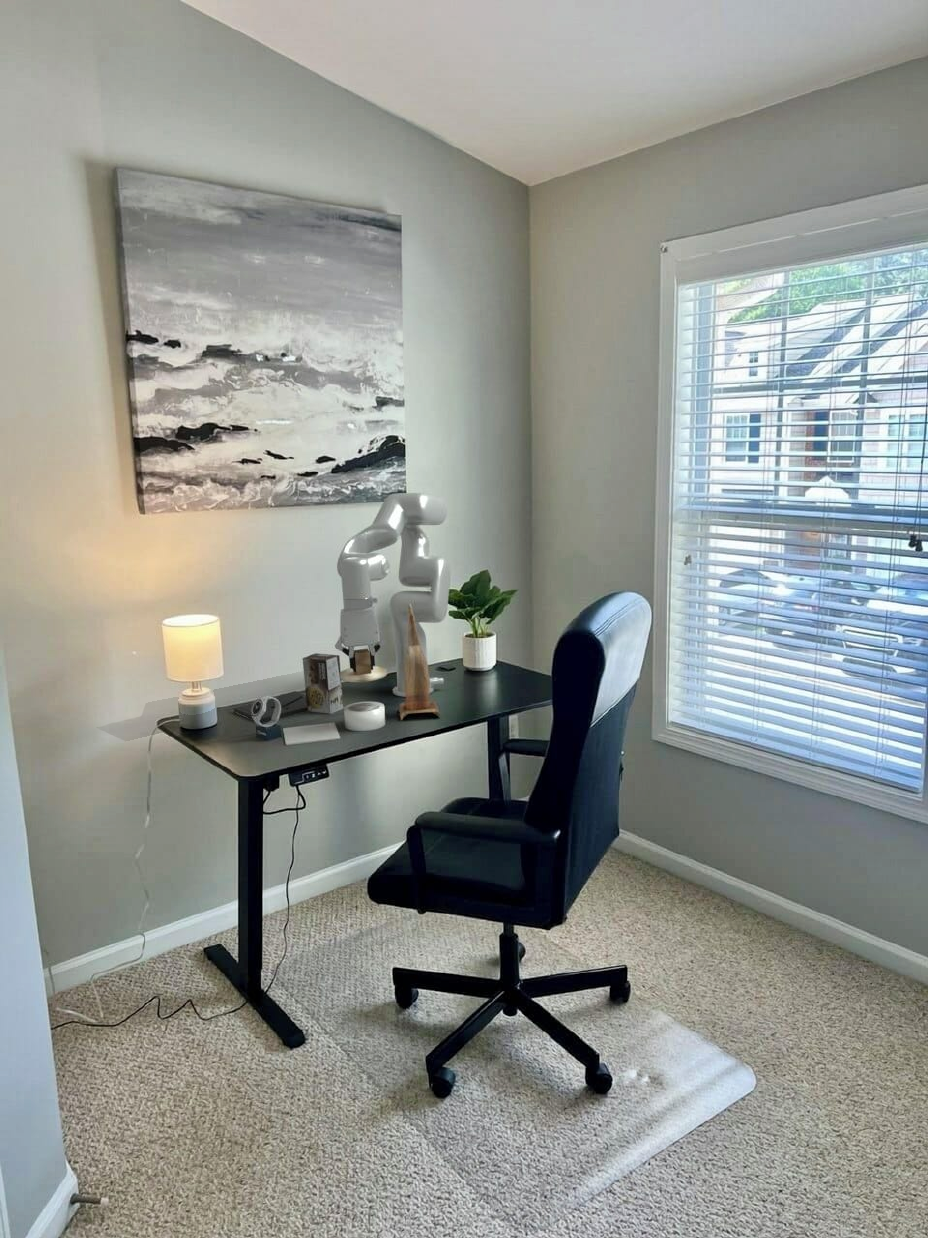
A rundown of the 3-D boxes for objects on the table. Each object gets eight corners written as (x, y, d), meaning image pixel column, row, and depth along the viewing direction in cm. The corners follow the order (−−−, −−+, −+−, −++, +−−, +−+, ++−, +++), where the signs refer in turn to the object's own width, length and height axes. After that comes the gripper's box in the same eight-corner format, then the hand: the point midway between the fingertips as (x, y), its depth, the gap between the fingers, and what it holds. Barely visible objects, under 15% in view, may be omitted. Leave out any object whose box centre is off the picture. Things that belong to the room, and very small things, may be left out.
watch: (250, 738, 237) (246, 698, 235) (275, 731, 242) (272, 692, 240) (261, 743, 233) (257, 702, 231) (287, 735, 238) (284, 695, 236)
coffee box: (344, 708, 261) (340, 655, 258) (330, 714, 256) (326, 659, 253) (320, 705, 266) (316, 652, 263) (305, 711, 260) (301, 657, 257)
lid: (382, 666, 250) (381, 643, 249) (390, 678, 238) (389, 654, 237) (336, 672, 247) (334, 648, 246) (342, 684, 235) (340, 659, 234)
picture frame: (295, 700, 275) (234, 715, 262) (295, 691, 275) (233, 705, 261) (323, 709, 264) (260, 726, 250) (322, 700, 263) (259, 716, 250)
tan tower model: (436, 708, 259) (429, 599, 254) (441, 718, 247) (434, 604, 242) (398, 711, 257) (390, 602, 252) (401, 722, 246) (393, 607, 241)
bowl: (381, 717, 251) (380, 699, 250) (388, 728, 241) (387, 710, 240) (342, 721, 249) (341, 704, 248) (347, 733, 238) (346, 715, 237)
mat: (334, 724, 247) (334, 722, 247) (340, 739, 233) (340, 737, 233) (283, 729, 243) (282, 728, 243) (286, 745, 230) (285, 744, 230)
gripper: (386, 598, 244) (390, 663, 248) (324, 604, 240) (330, 669, 244) (390, 603, 237) (395, 669, 241) (327, 609, 233) (333, 676, 237)
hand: (362, 669), depth 242 cm, fingers closed on lid, 4 cm apart
